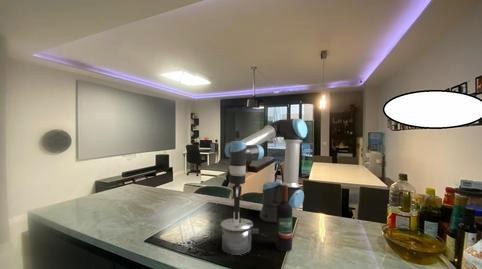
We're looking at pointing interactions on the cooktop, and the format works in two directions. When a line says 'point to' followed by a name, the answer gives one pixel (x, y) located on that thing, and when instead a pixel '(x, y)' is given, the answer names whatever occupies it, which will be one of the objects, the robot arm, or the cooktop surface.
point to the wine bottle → (284, 223)
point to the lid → (243, 225)
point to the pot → (236, 240)
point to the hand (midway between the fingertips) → (236, 225)
